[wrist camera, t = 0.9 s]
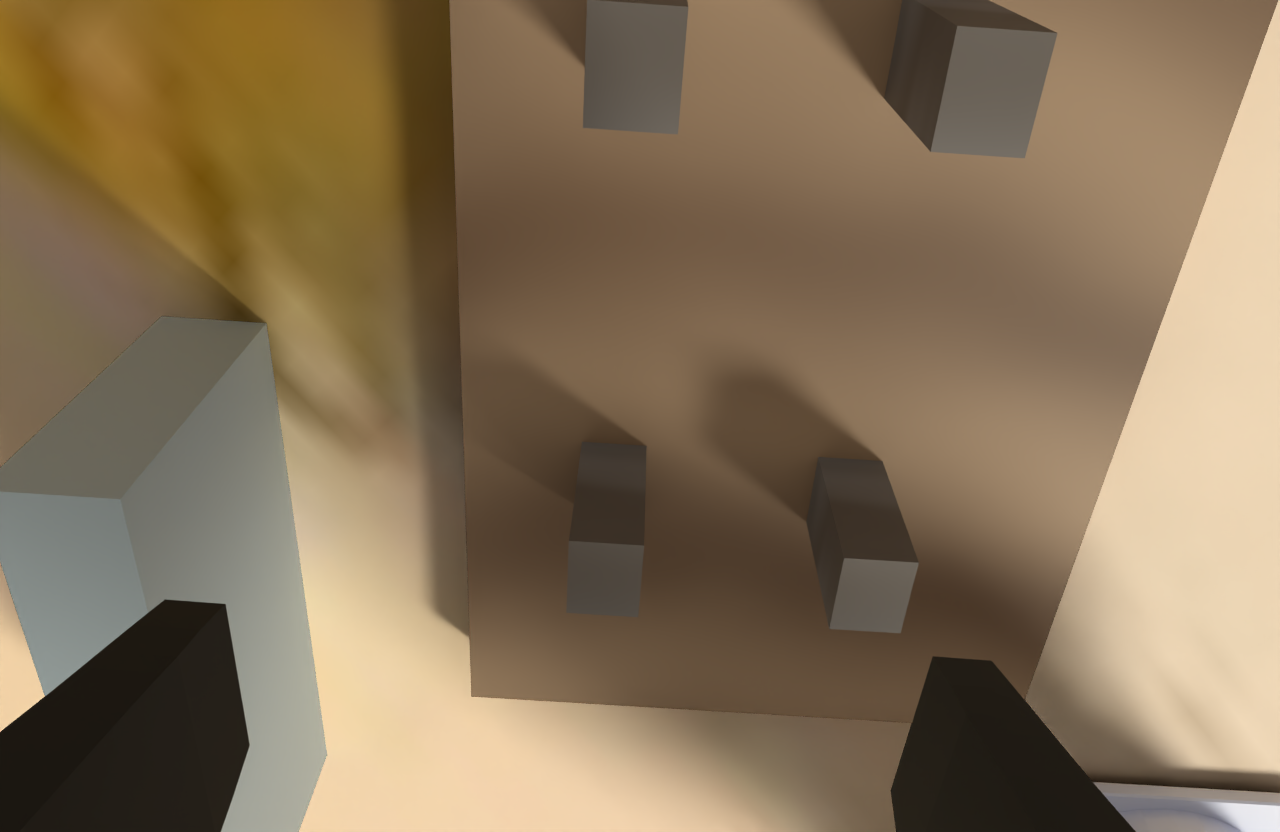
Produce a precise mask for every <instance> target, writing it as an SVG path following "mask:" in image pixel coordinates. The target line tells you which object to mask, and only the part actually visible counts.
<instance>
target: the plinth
mask: <svg viewBox="0 0 1280 832" xmlns="http://www.w3.org/2000/svg"><path fill="white" fill-rule="evenodd" d="M1277 2H1278V0H449V4H450V36H451V67H452V99H453V130H454V162H455V193H456V225H457V256H458V288H459V319H460V351H461V382H462V414H463V445H464V477H465V508H466V540H467V571H468V603H469V634H470V666H471V697H488V698H505V699H522V700H538V701H555V702H572V703H588V704H605V705H622V706H639V707H655V708H672V709H689V710H706V711H722V712H739V713H756V714H772V715H789V716H806V717H823V718H839V719H856V720H873V721H889V722H906V723H912V721H913V718H914V715H915V711H916V708H917V705H918V702H919V699H920V695H921V692H922V689H923V686H924V683H925V679H926V676H927V673H928V670H929V667H930V663H931V660H932V657H933V656H936V657H949V658H963V659H976V660H990V661H992V662H993V663H994V664H995V665H996V666H997V668H998V669H999V670H1000V671H1001V672H1002V673H1003V675H1004V676H1005V677H1006V678H1007V679H1008V681H1009V682H1010V683H1011V684H1012V685H1013V687H1014V688H1015V689H1016V690H1017V691H1018V693H1019V694H1020V695H1021V696H1022V698H1023V699H1024V700H1025V697H1026V694H1027V692H1028V689H1029V686H1030V683H1031V680H1032V678H1033V675H1034V672H1035V669H1036V667H1037V664H1038V661H1039V658H1040V656H1041V653H1042V650H1043V647H1044V645H1045V642H1046V639H1047V636H1048V634H1049V631H1050V628H1051V625H1052V623H1053V620H1054V617H1055V614H1056V612H1057V609H1058V606H1059V603H1060V601H1061V598H1062V595H1063V592H1064V589H1065V587H1066V584H1067V581H1068V578H1069V576H1070V573H1071V570H1072V567H1073V565H1074V562H1075V559H1076V556H1077V554H1078V551H1079V548H1080V545H1081V543H1082V540H1083V537H1084V534H1085V532H1086V529H1087V526H1088V523H1089V521H1090V518H1091V515H1092V512H1093V510H1094V507H1095V504H1096V501H1097V499H1098V496H1099V493H1100V490H1101V487H1102V485H1103V482H1104V479H1105V476H1106V474H1107V471H1108V468H1109V465H1110V463H1111V460H1112V457H1113V454H1114V452H1115V449H1116V446H1117V443H1118V441H1119V438H1120V435H1121V432H1122V430H1123V427H1124V424H1125V421H1126V419H1127V416H1128V413H1129V410H1130V408H1131V405H1132V402H1133V399H1134V396H1135V394H1136V391H1137V388H1138V385H1139V383H1140V380H1141V377H1142V374H1143V372H1144V369H1145V366H1146V363H1147V361H1148V358H1149V355H1150V352H1151V350H1152V347H1153V344H1154V341H1155V339H1156V336H1157V333H1158V330H1159V328H1160V325H1161V322H1162V319H1163V317H1164V314H1165V311H1166V308H1167V305H1168V303H1169V300H1170V297H1171V294H1172V292H1173V289H1174V286H1175V283H1176V281H1177V278H1178V275H1179V272H1180V270H1181V267H1182V264H1183V261H1184V259H1185V256H1186V253H1187V250H1188V248H1189V245H1190V242H1191V239H1192V237H1193V234H1194V231H1195V228H1196V226H1197V223H1198V220H1199V217H1200V214H1201V212H1202V209H1203V206H1204V203H1205V201H1206V198H1207V195H1208V192H1209V190H1210V187H1211V184H1212V181H1213V179H1214V176H1215V173H1216V170H1217V168H1218V165H1219V162H1220V159H1221V157H1222V154H1223V151H1224V148H1225V146H1226V143H1227V140H1228V137H1229V135H1230V132H1231V129H1232V126H1233V124H1234V121H1235V118H1236V115H1237V112H1238V110H1239V107H1240V104H1241V101H1242V99H1243V96H1244V93H1245V90H1246V88H1247V85H1248V82H1249V79H1250V77H1251V74H1252V71H1253V68H1254V66H1255V63H1256V60H1257V57H1258V55H1259V52H1260V49H1261V46H1262V44H1263V41H1264V38H1265V35H1266V33H1267V30H1268V27H1269V24H1270V21H1271V19H1272V16H1273V13H1274V10H1275V8H1276V5H1277Z"/></svg>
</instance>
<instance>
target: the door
mask: <svg viewBox="0 0 1280 832" xmlns="http://www.w3.org/2000/svg"><path fill="white" fill-rule="evenodd" d="M0 563H1V566H2V569H3V572H4V575H5V578H6V581H7V584H8V587H9V590H10V593H11V596H12V599H13V602H14V605H15V608H16V611H17V614H18V617H19V620H20V623H21V626H22V629H23V632H24V635H25V638H26V641H27V644H28V647H29V650H30V653H31V656H32V659H33V662H34V665H35V668H36V671H37V674H38V677H39V680H40V683H41V686H42V689H43V692H44V695H45V696H46V695H47V694H49V693H50V692H51V691H52V690H54V689H55V688H56V687H57V686H58V685H60V684H61V683H62V682H63V681H65V680H66V679H67V678H68V677H70V676H71V675H72V674H73V673H74V672H76V671H77V670H78V669H79V668H81V667H82V666H83V665H84V664H85V663H87V662H88V661H89V660H90V659H92V658H93V657H94V656H95V655H96V654H98V653H99V652H100V651H101V650H103V649H104V648H105V647H106V646H107V645H109V644H110V643H111V642H112V641H114V640H115V639H116V638H117V637H119V636H120V635H121V634H122V633H124V632H125V631H126V630H127V629H128V628H130V627H131V626H132V625H133V624H135V623H136V622H137V621H138V620H140V619H141V618H142V617H143V616H145V615H146V614H147V613H148V612H150V611H151V610H152V609H153V608H155V607H156V606H157V605H159V604H160V603H161V602H162V601H164V600H165V599H166V600H180V601H193V602H207V603H220V604H226V609H227V615H228V621H229V627H230V632H231V638H232V644H233V650H234V656H235V662H236V668H237V673H238V679H239V685H240V691H241V697H242V703H243V708H244V714H245V720H246V726H247V732H248V738H249V743H250V746H249V749H248V752H247V756H246V759H245V762H244V765H243V768H242V771H241V774H240V777H239V780H238V783H237V786H236V790H235V793H234V796H233V799H232V802H231V804H230V807H229V810H228V813H227V816H226V819H225V822H224V824H223V827H222V830H221V832H299V829H300V827H301V824H302V821H303V819H304V816H305V813H306V810H307V808H308V805H309V802H310V800H311V797H312V794H313V791H314V789H315V786H316V783H317V781H318V778H319V775H320V773H321V770H322V767H323V764H324V762H325V759H326V756H327V751H326V744H325V737H324V729H323V722H322V715H321V708H320V701H319V694H318V687H317V680H316V672H315V665H314V658H313V651H312V644H311V637H310V630H309V623H308V615H307V608H306V601H305V594H304V587H303V580H302V573H301V566H300V558H299V551H298V544H297V537H296V530H295V523H294V516H293V509H292V501H291V494H290V487H289V480H288V473H287V466H286V459H285V452H284V444H283V437H282V430H281V423H280V416H279V409H278V402H277V395H276V387H275V380H274V373H273V366H272V359H271V352H270V345H269V338H268V330H267V323H257V322H242V321H226V320H211V319H196V318H181V317H165V316H161V317H160V318H159V319H158V320H157V321H156V322H155V323H154V324H153V325H152V326H151V327H149V328H148V329H147V330H146V331H145V332H144V333H143V334H142V335H141V336H140V337H139V338H138V339H137V340H136V341H135V342H134V343H132V344H131V345H130V346H129V347H128V348H127V349H126V350H125V351H124V352H123V353H122V354H121V355H120V356H119V357H118V358H116V359H115V360H114V361H113V362H112V363H111V364H110V365H109V366H108V367H107V368H106V369H105V370H104V371H103V372H102V373H100V374H99V375H98V376H97V377H96V378H95V379H94V380H93V381H92V382H91V383H90V384H89V385H88V386H87V387H86V388H84V389H83V390H82V391H81V392H80V393H79V394H78V395H77V396H76V397H75V398H74V399H73V400H72V401H71V402H70V403H68V404H67V405H66V406H65V407H64V408H63V409H62V410H61V411H60V412H59V413H58V414H57V415H56V416H55V417H54V418H52V419H51V420H50V421H49V422H48V423H47V424H46V425H45V426H44V427H43V428H42V429H41V430H40V431H39V432H38V433H37V434H35V435H34V436H33V437H32V438H31V439H30V440H29V441H28V442H27V443H26V444H25V445H24V446H23V447H22V448H21V449H19V450H18V451H17V452H16V453H15V454H14V455H13V456H12V457H11V458H10V459H9V460H8V461H7V462H6V463H5V464H3V465H2V466H1V467H0Z"/></svg>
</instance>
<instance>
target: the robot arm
mask: <svg viewBox="0 0 1280 832" xmlns="http://www.w3.org/2000/svg"><path fill="white" fill-rule="evenodd" d="M249 746H250V743H249V738H248V732H247V726H246V720H245V714H244V708H243V703H242V697H241V691H240V685H239V679H238V673H237V668H236V662H235V656H234V650H233V644H232V638H231V632H230V627H229V621H228V615H227V609H226V604H220V603H207V602H193V601H180V600H166V599H165V600H164V601H162V602H161V603H160V604H159V605H157V606H156V607H155V608H153V609H152V610H151V611H150V612H148V613H147V614H146V615H145V616H143V617H142V618H141V619H140V620H138V621H137V622H136V623H135V624H133V625H132V626H131V627H130V628H128V629H127V630H126V631H125V632H124V633H122V634H121V635H120V636H119V637H117V638H116V639H115V640H114V641H112V642H111V643H110V644H109V645H107V646H106V647H105V648H104V649H103V650H101V651H100V652H99V653H98V654H96V655H95V656H94V657H93V658H92V659H90V660H89V661H88V662H87V663H85V664H84V665H83V666H82V667H81V668H79V669H78V670H77V671H76V672H74V673H73V674H72V675H71V676H70V677H68V678H67V679H66V680H65V681H63V682H62V683H61V684H60V685H58V686H57V687H56V688H55V689H54V690H52V691H51V692H50V693H49V694H47V695H46V696H45V697H44V698H42V699H41V700H40V701H39V702H38V703H36V704H35V705H34V706H32V707H31V708H30V709H29V710H27V711H26V712H25V713H24V714H22V715H21V716H20V717H19V718H17V719H16V720H15V721H13V722H12V723H11V724H10V725H8V726H7V727H6V728H5V729H3V730H2V731H1V732H0V832H221V830H222V827H223V824H224V822H225V819H226V816H227V813H228V810H229V807H230V804H231V802H232V799H233V796H234V793H235V790H236V786H237V783H238V780H239V777H240V774H241V771H242V768H243V765H244V762H245V759H246V756H247V752H248V749H249ZM891 796H892V803H893V811H894V818H895V826H896V832H1280V793H1272V792H1255V791H1238V790H1221V789H1204V788H1187V787H1171V786H1154V785H1137V784H1120V783H1103V782H1092V781H1091V779H1090V778H1089V777H1088V776H1087V775H1086V773H1085V772H1084V771H1083V770H1082V769H1081V767H1080V766H1079V765H1078V764H1077V763H1076V762H1075V760H1074V759H1073V758H1072V757H1071V756H1070V754H1069V753H1068V752H1067V751H1066V750H1065V748H1064V747H1063V746H1062V745H1061V744H1060V742H1059V741H1058V740H1057V739H1056V738H1055V736H1054V735H1053V734H1052V733H1051V731H1050V730H1049V729H1048V728H1047V727H1046V725H1045V724H1044V723H1043V722H1042V721H1041V719H1040V718H1039V717H1038V716H1037V715H1036V713H1035V712H1034V711H1033V710H1032V708H1031V707H1030V706H1029V705H1028V704H1027V702H1026V701H1025V700H1024V699H1023V698H1022V696H1021V695H1020V694H1019V693H1018V691H1017V690H1016V689H1015V688H1014V687H1013V685H1012V684H1011V683H1010V682H1009V681H1008V679H1007V678H1006V677H1005V676H1004V675H1003V673H1002V672H1001V671H1000V670H999V669H998V668H997V666H996V665H995V664H994V663H993V662H992V661H990V660H976V659H963V658H949V657H936V656H933V657H932V660H931V663H930V667H929V670H928V673H927V676H926V679H925V683H924V686H923V689H922V692H921V695H920V699H919V702H918V705H917V708H916V711H915V715H914V718H913V721H912V724H911V727H910V731H909V734H908V737H907V740H906V743H905V747H904V750H903V753H902V756H901V759H900V763H899V766H898V769H897V772H896V775H895V779H894V782H893V785H892V788H891Z"/></svg>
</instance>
